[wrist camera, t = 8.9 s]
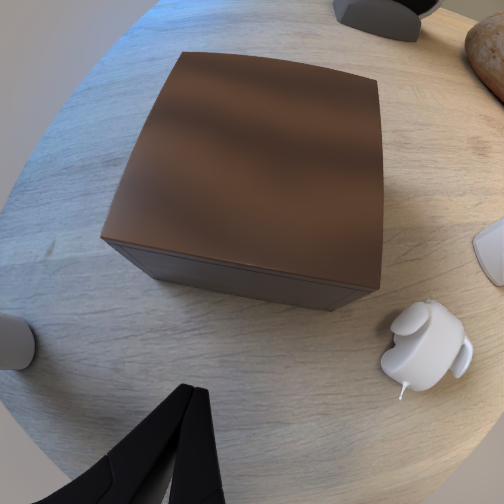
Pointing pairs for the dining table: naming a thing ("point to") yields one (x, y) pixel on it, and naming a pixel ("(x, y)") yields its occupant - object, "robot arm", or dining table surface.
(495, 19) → the bread
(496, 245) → the eye dropper bottle
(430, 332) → the elephant figurine
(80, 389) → the dining table surface
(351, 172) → the lid
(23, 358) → the beverage can
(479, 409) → the dining table surface
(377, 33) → the alarm clock
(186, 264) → the box
